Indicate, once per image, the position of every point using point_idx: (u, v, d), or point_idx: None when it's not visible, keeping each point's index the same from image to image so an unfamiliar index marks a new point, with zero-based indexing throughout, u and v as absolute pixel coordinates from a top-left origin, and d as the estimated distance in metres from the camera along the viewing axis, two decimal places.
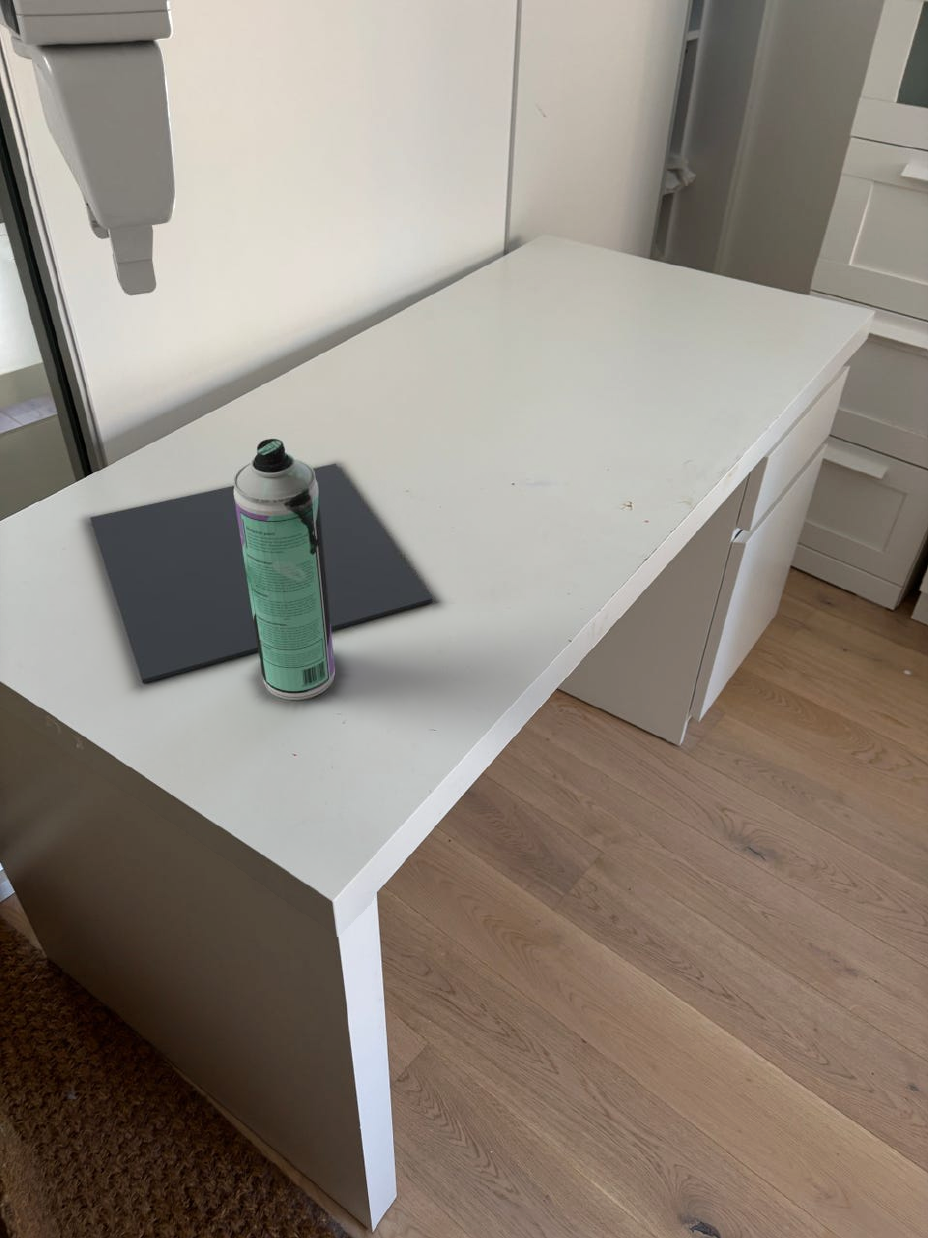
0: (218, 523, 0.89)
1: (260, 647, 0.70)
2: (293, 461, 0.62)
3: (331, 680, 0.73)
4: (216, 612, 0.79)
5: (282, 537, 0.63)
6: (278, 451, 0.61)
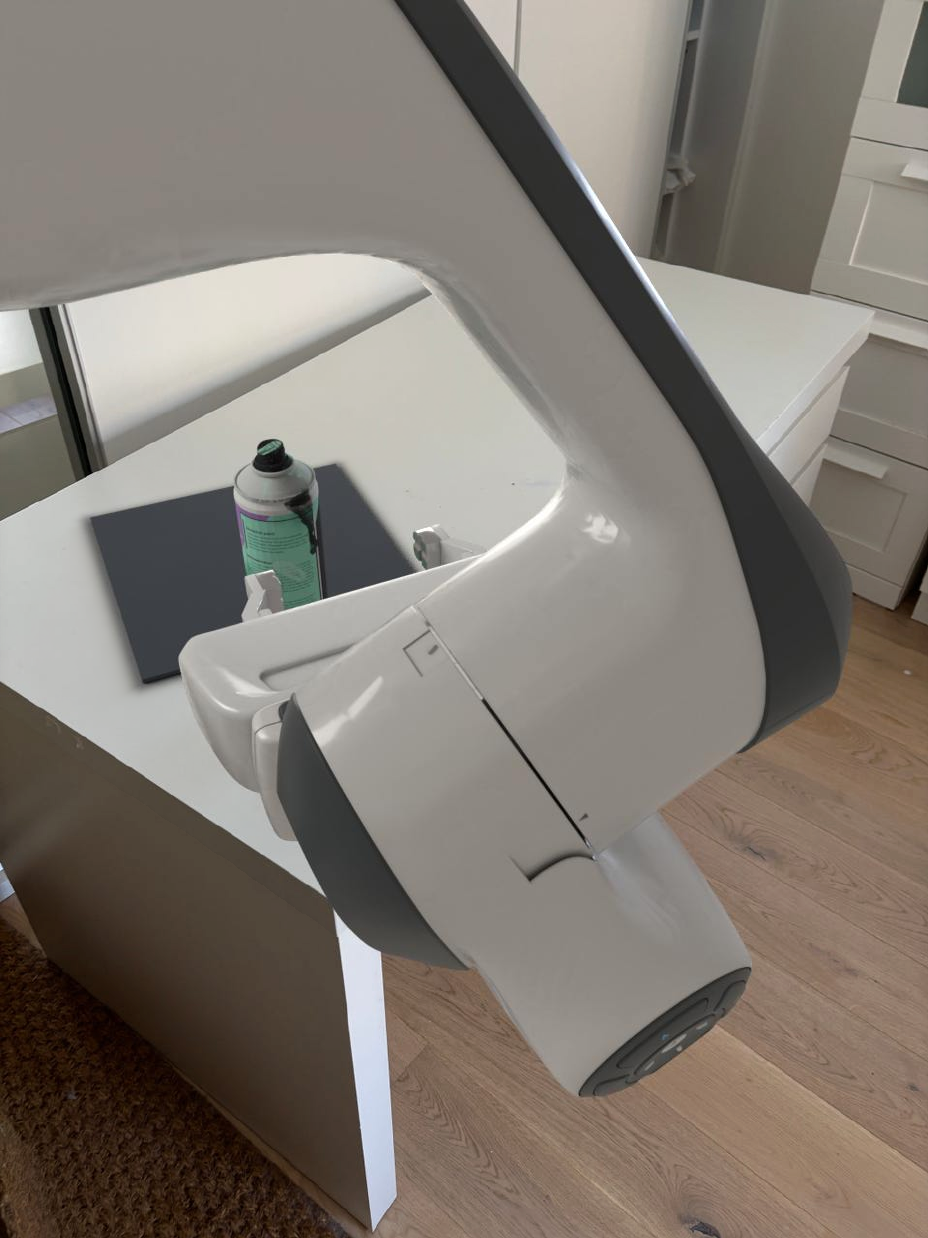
0: (218, 523, 0.89)
1: None
2: (293, 461, 0.62)
3: None
4: (216, 612, 0.79)
5: (282, 537, 0.63)
6: (278, 451, 0.61)
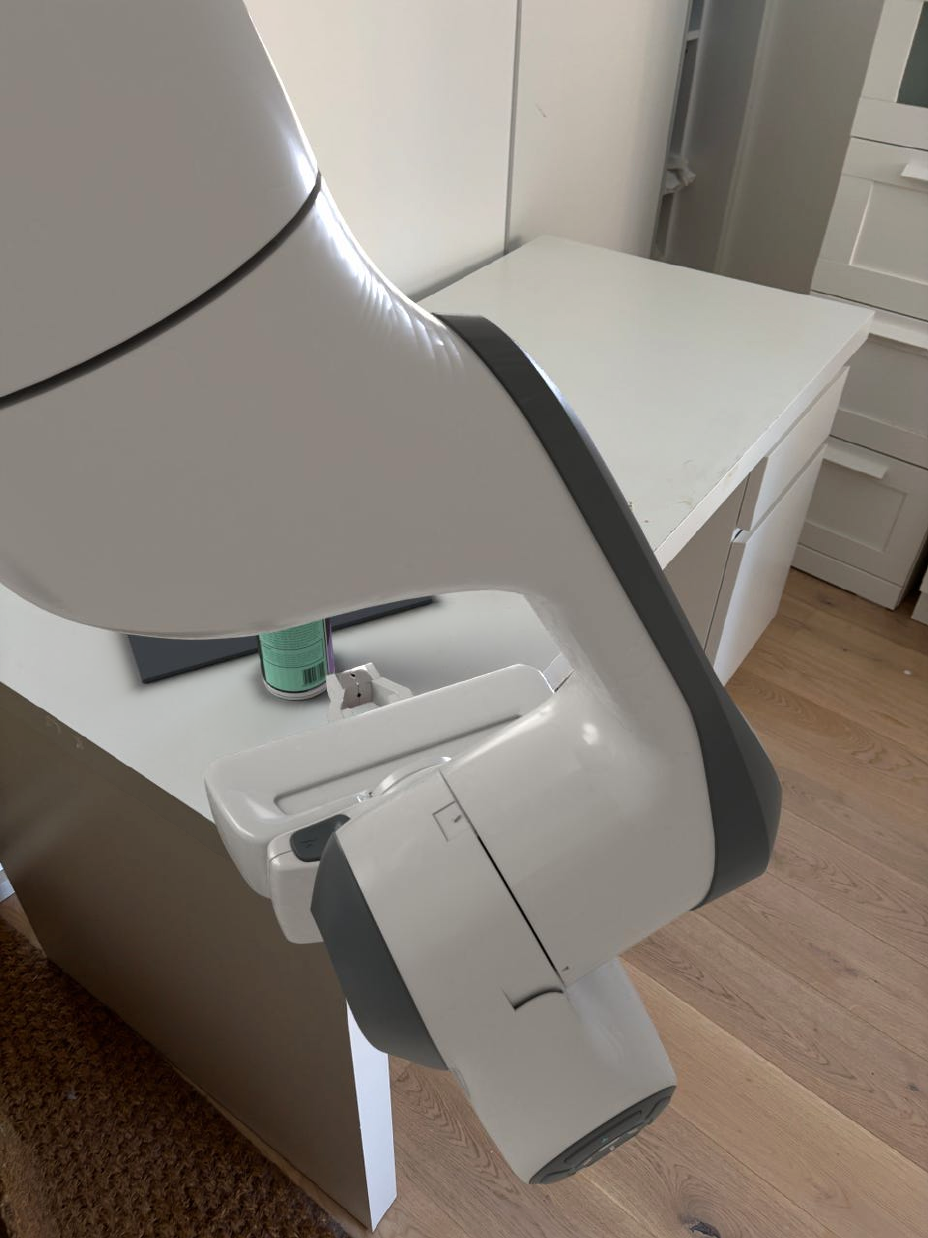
0: None
1: (260, 647, 0.70)
2: None
3: None
4: None
5: None
6: None
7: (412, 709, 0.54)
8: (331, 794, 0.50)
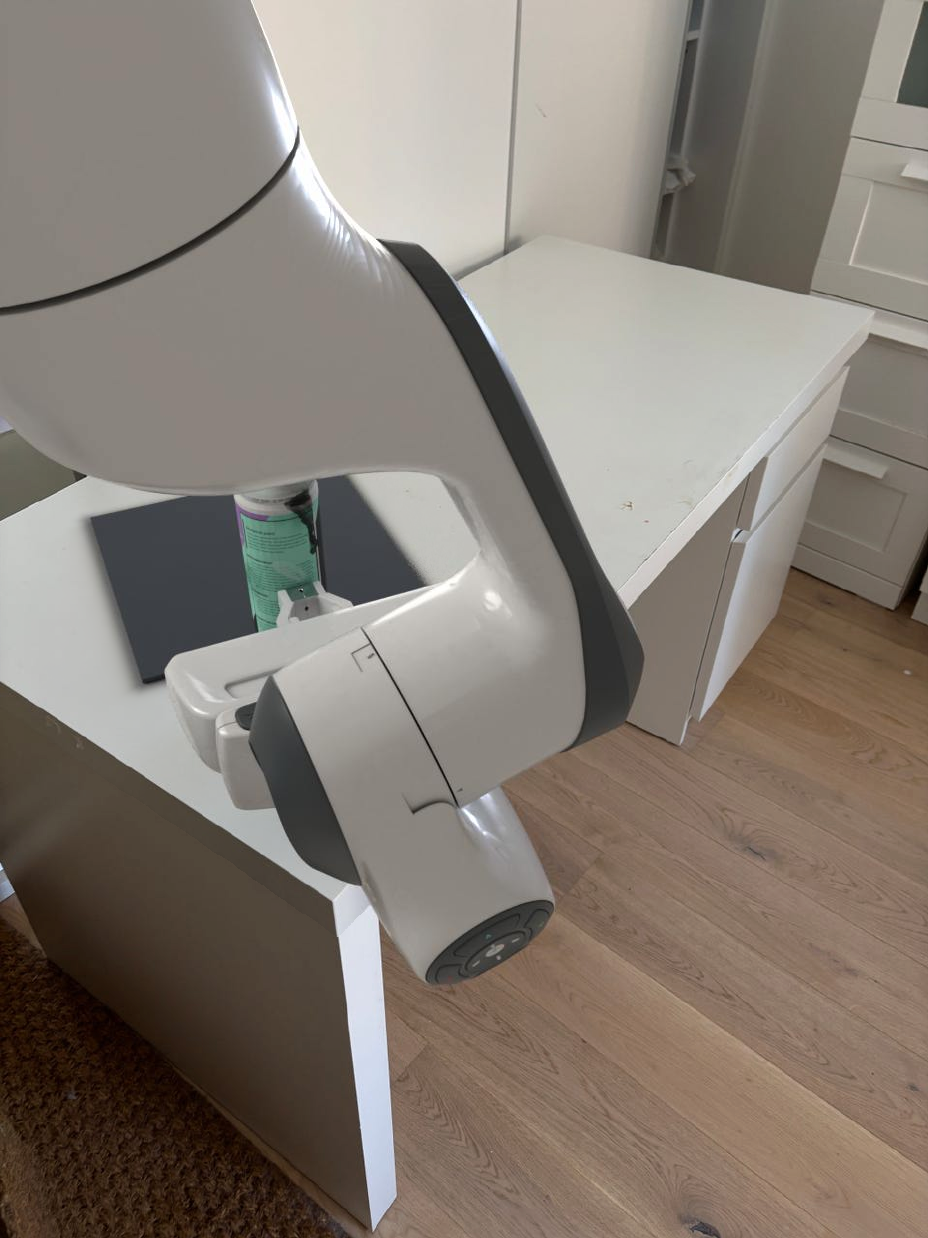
0: (218, 523, 0.89)
1: None
2: None
3: None
4: (216, 612, 0.79)
5: (281, 537, 0.63)
6: None
7: (351, 616, 0.61)
8: None
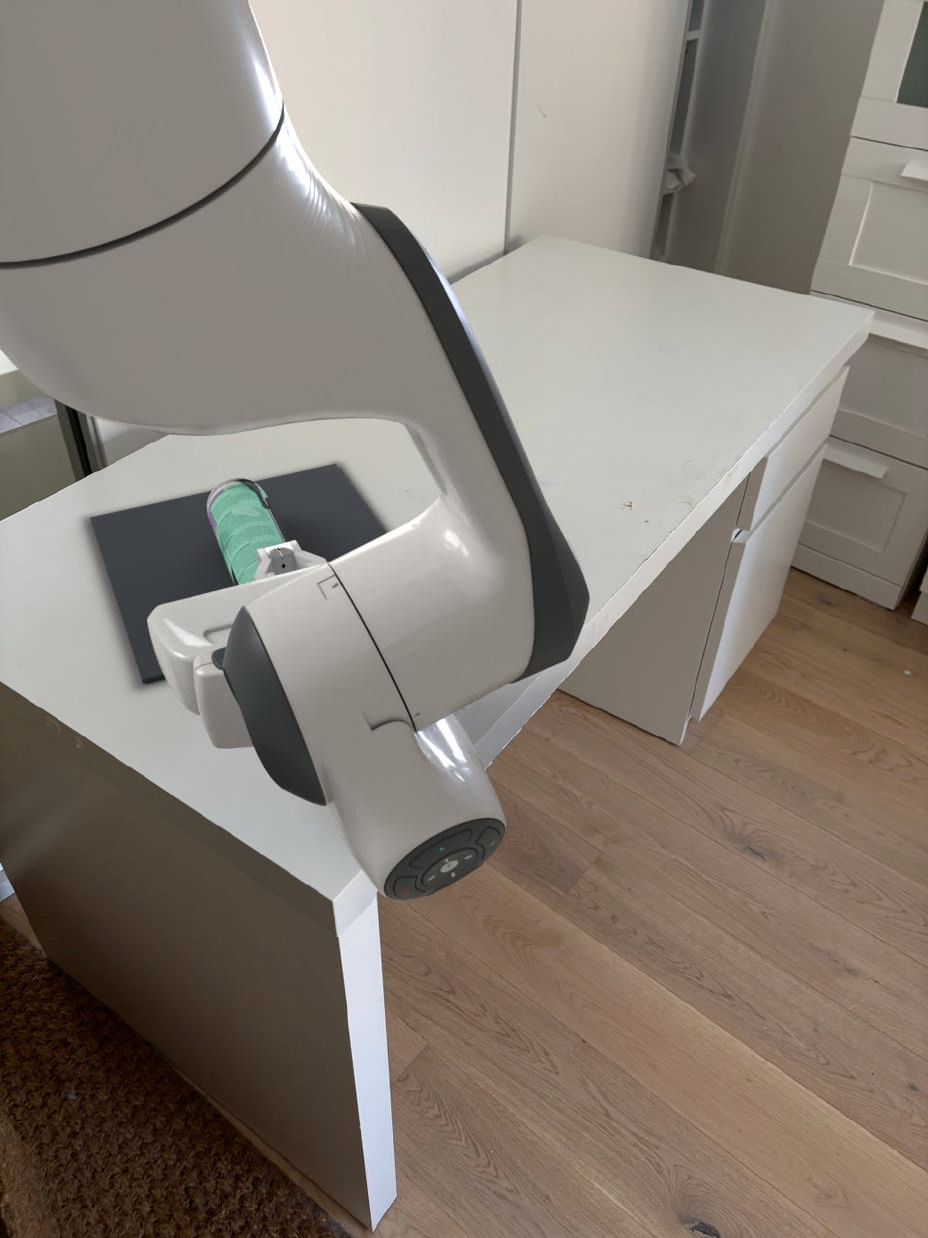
0: None
1: None
2: None
3: None
4: None
5: (235, 495, 0.83)
6: None
7: None
8: None
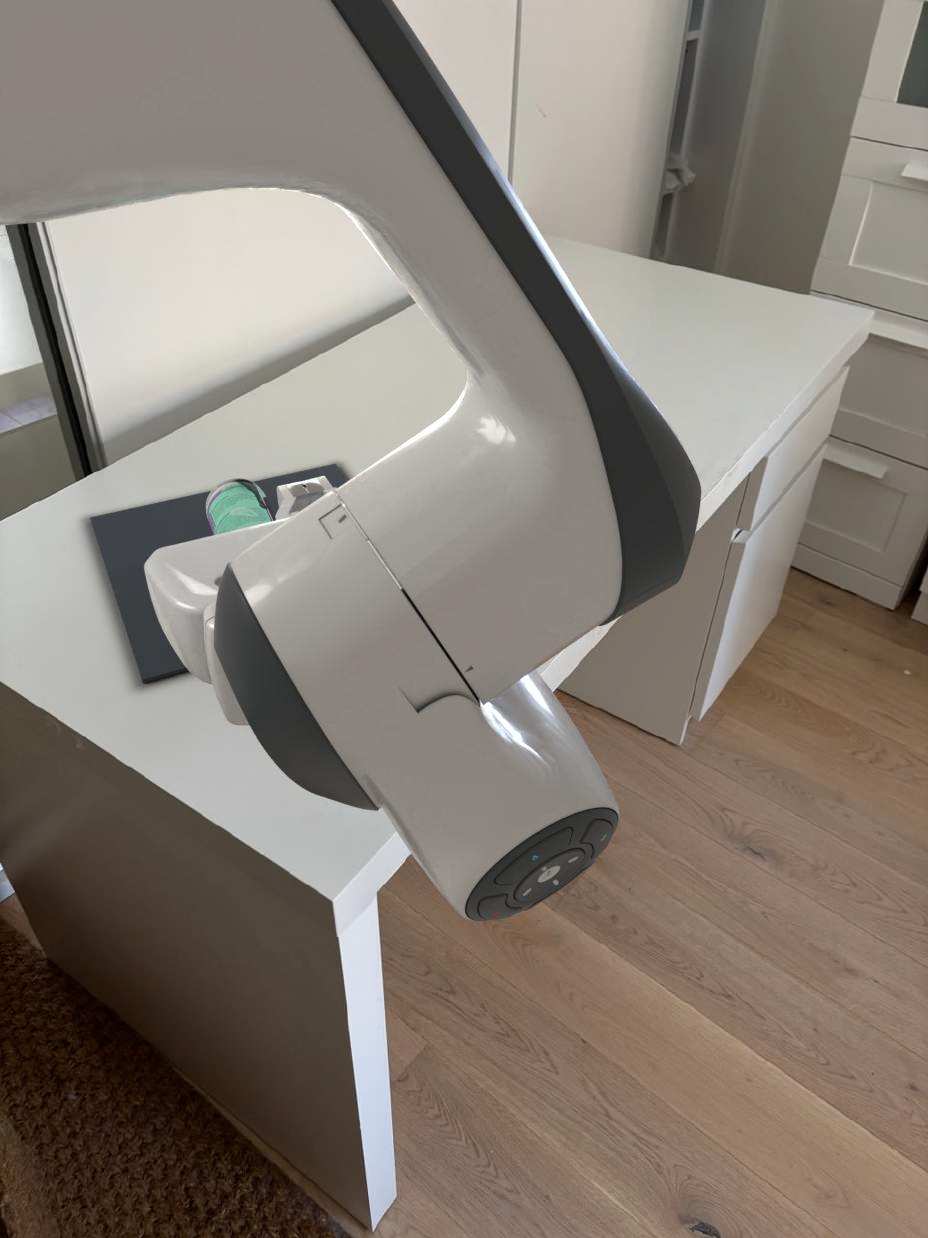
0: None
1: None
2: None
3: None
4: None
5: (233, 495, 0.83)
6: None
7: None
8: None
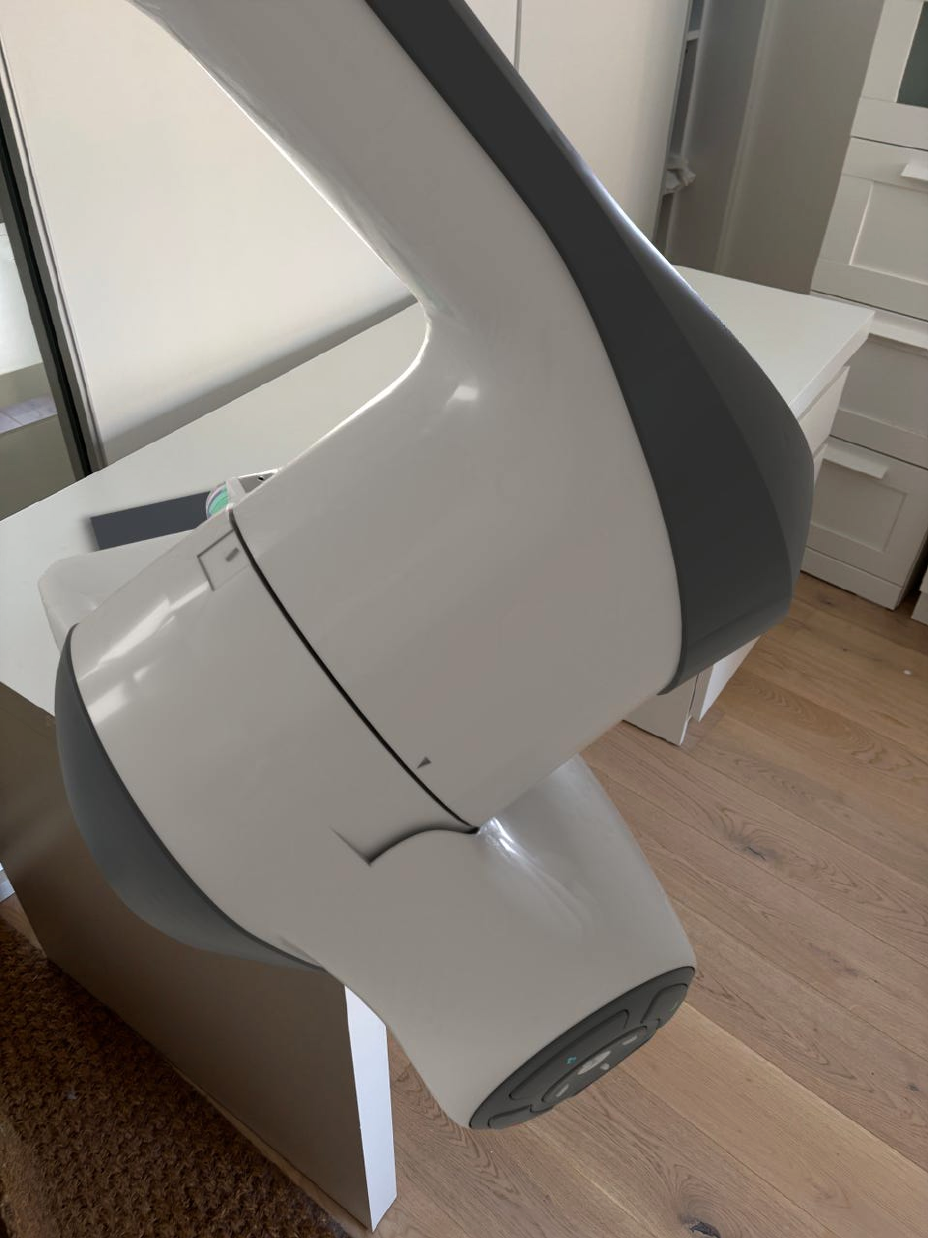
0: None
1: None
2: None
3: None
4: None
5: None
6: None
7: None
8: None
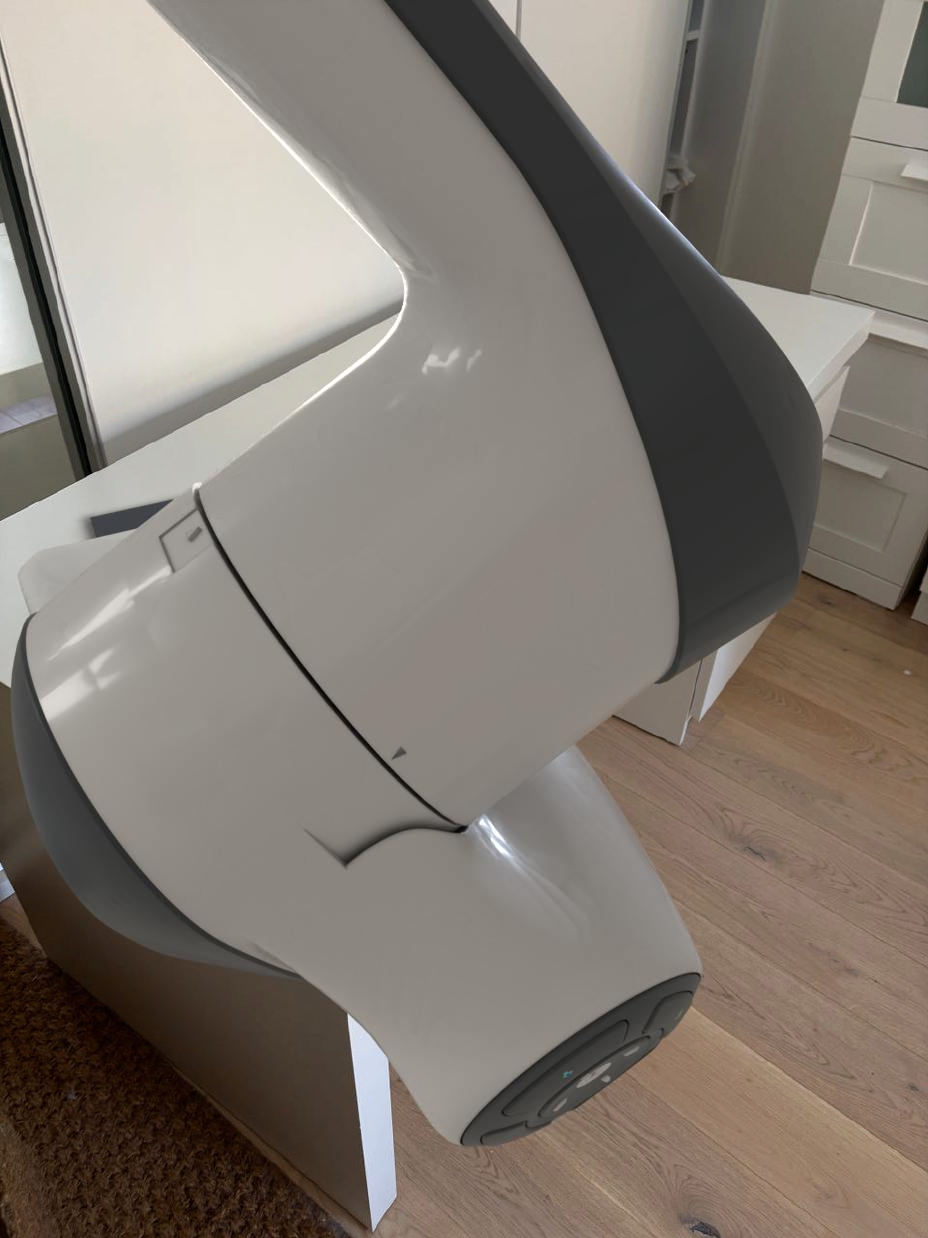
0: None
1: None
2: None
3: None
4: None
5: None
6: None
7: None
8: None
